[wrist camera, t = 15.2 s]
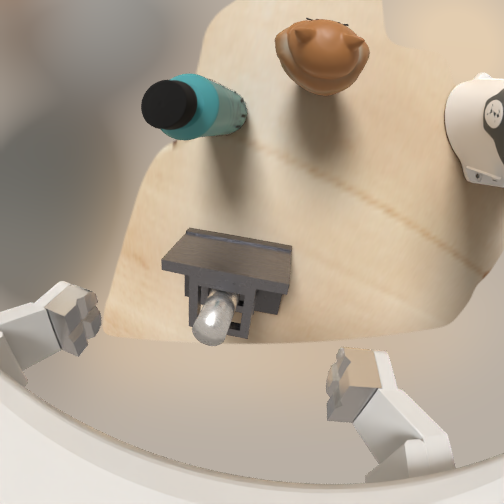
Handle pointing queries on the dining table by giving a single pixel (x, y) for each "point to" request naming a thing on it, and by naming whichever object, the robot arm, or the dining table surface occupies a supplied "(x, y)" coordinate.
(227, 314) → the grey cylinder
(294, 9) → the dining table surface
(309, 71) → the cat ice cream
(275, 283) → the collar stand
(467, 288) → the dining table surface
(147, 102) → the beverage bottle
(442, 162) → the dining table surface
